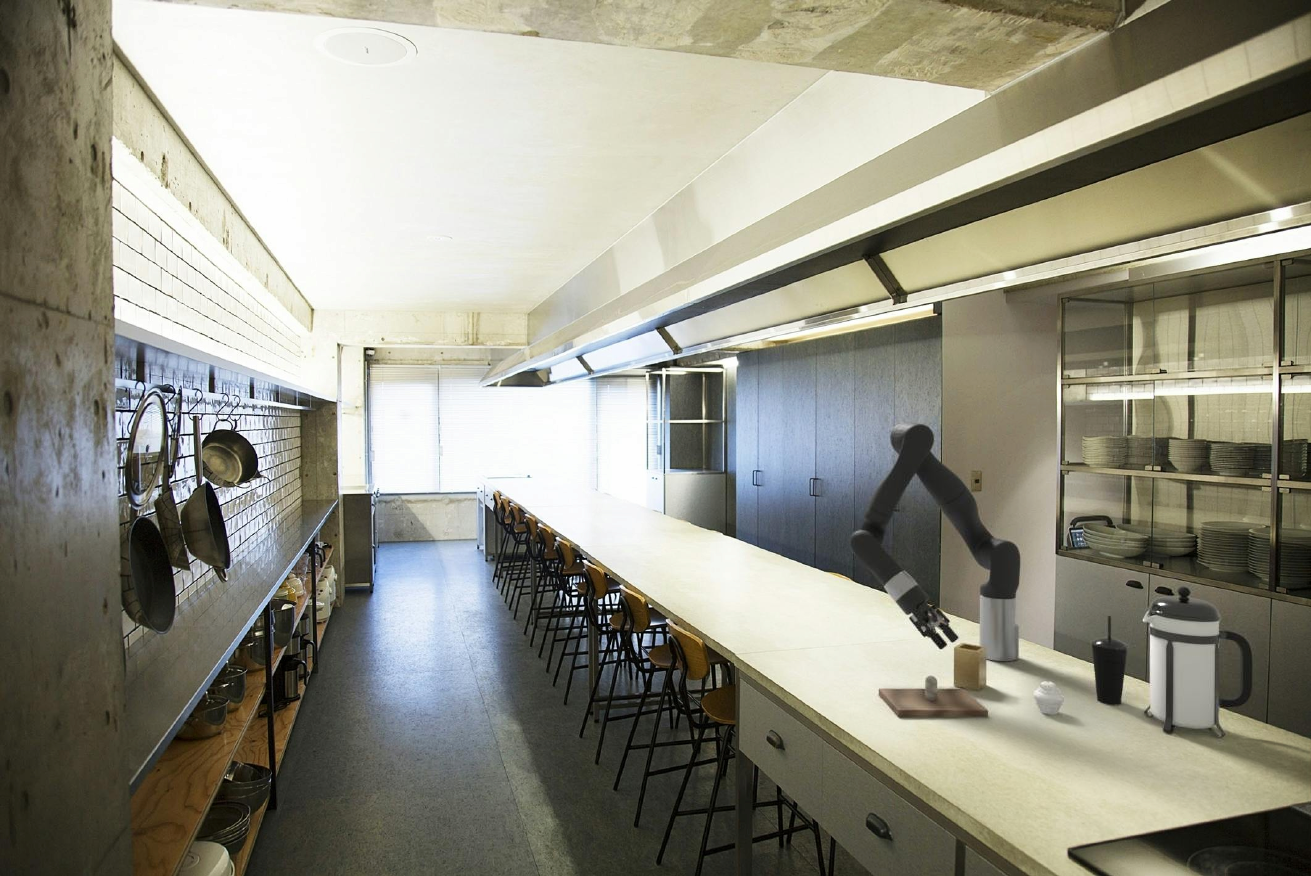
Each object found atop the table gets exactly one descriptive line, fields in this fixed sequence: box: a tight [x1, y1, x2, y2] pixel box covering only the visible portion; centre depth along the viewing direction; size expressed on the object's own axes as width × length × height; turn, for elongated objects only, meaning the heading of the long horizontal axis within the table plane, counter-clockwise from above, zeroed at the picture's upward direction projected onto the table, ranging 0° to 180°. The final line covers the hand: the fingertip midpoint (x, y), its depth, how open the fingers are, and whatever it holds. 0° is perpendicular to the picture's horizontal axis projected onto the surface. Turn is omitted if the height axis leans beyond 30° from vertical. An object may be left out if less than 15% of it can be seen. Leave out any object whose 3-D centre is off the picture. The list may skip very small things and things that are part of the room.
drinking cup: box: [1090, 615, 1130, 706], centre depth 175 cm, size 8×8×20 cm
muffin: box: [1032, 680, 1065, 716], centre depth 168 cm, size 6×6×7 cm
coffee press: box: [1142, 586, 1253, 739], centre depth 160 cm, size 17×16×30 cm
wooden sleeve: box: [953, 642, 987, 692], centre depth 186 cm, size 6×6×10 cm
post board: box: [878, 675, 989, 718], centre depth 172 cm, size 20×14×7 cm
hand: (950, 643), depth 189 cm, fingers open, 8 cm apart
